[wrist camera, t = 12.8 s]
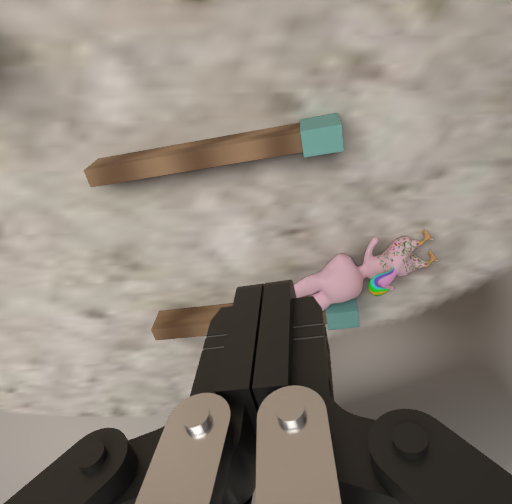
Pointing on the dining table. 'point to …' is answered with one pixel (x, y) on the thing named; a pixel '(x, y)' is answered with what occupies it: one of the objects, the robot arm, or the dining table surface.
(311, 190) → the dining table surface
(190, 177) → the dining table surface
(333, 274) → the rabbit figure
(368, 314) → the dining table surface
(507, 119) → the dining table surface
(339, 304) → the channel rails
